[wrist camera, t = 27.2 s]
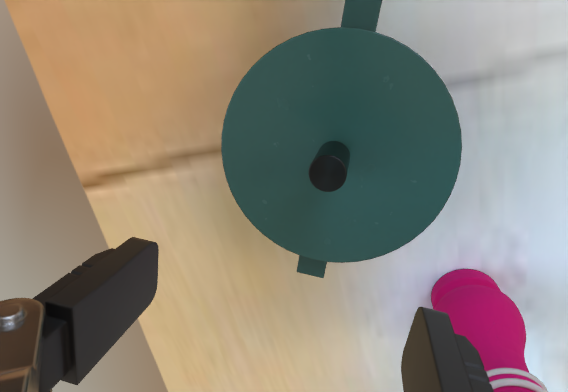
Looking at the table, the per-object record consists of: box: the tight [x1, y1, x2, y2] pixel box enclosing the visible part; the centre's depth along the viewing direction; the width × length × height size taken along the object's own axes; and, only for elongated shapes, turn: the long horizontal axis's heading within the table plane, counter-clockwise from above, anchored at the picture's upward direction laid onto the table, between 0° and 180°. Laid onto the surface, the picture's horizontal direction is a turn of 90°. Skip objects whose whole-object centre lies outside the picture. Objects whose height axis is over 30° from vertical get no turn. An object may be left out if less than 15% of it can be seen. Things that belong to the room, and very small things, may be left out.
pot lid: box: [221, 27, 462, 263], centre depth 26 cm, size 18×18×6 cm
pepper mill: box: [431, 269, 548, 392], centre depth 28 cm, size 7×7×20 cm
